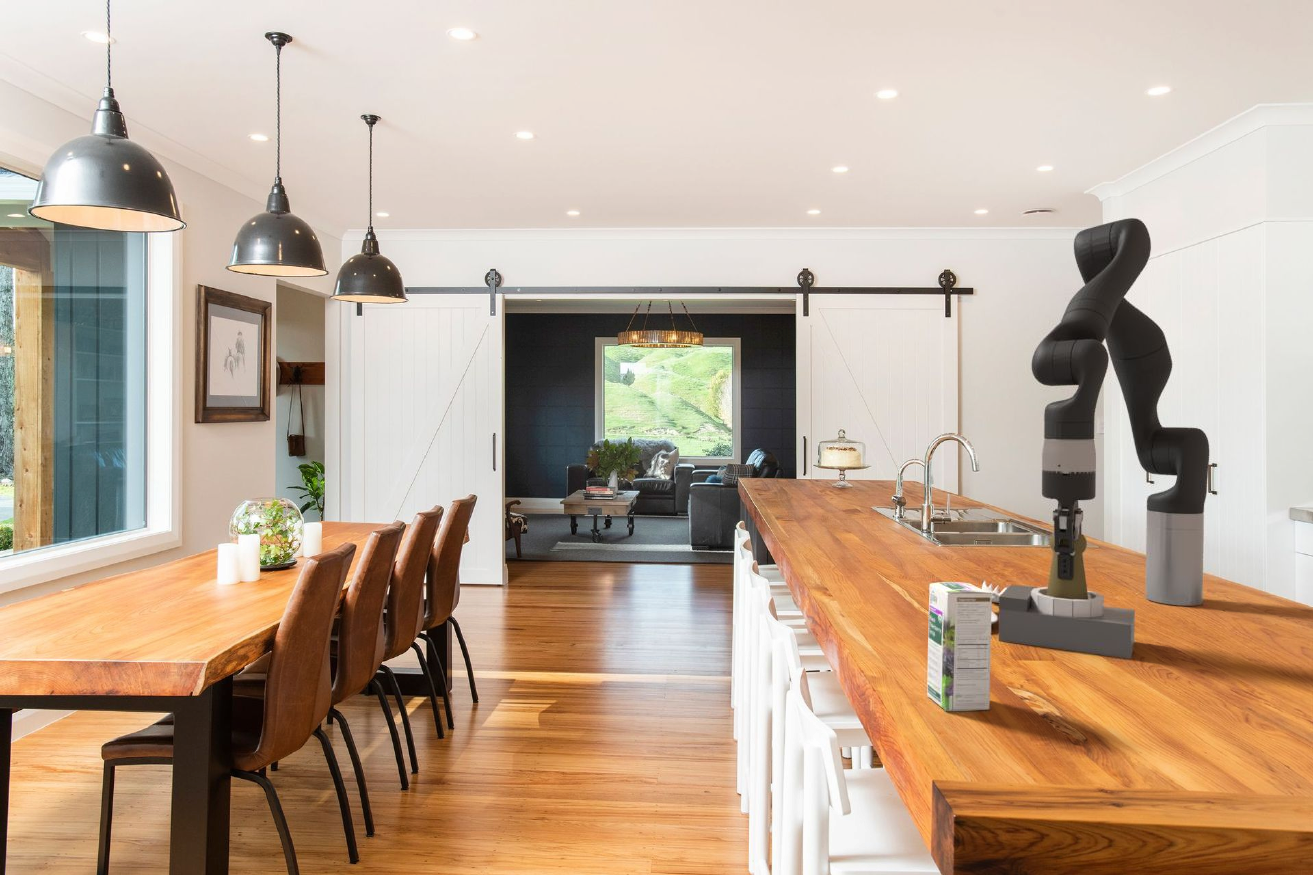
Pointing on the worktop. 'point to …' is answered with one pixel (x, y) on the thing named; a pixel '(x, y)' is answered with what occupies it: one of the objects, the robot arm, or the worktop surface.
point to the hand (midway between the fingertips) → (1067, 575)
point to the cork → (1078, 583)
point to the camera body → (1065, 622)
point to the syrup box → (959, 646)
